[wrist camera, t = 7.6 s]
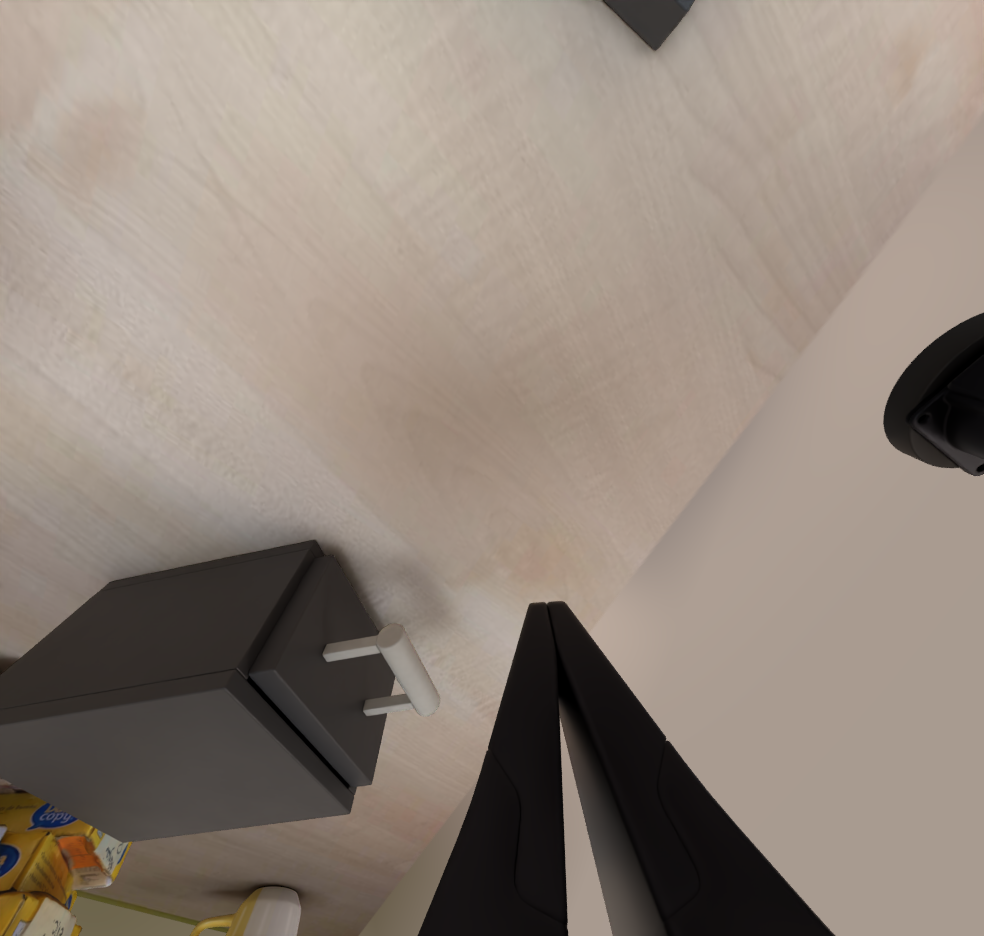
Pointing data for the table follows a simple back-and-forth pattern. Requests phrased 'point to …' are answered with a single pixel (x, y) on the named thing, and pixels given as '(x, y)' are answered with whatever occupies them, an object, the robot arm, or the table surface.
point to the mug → (261, 915)
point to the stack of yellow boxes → (48, 864)
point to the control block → (651, 17)
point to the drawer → (339, 673)
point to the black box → (166, 707)
